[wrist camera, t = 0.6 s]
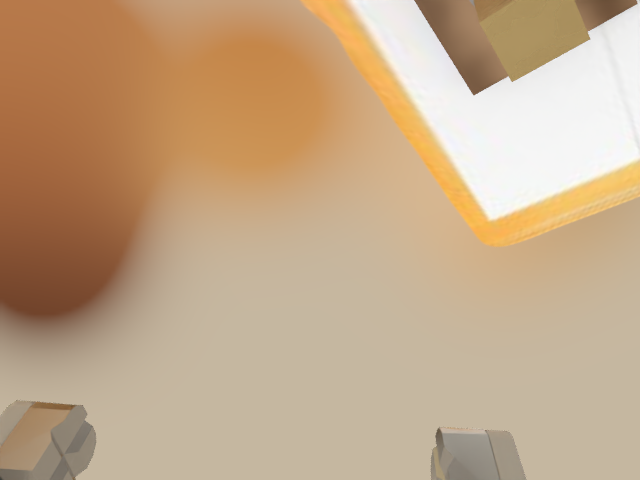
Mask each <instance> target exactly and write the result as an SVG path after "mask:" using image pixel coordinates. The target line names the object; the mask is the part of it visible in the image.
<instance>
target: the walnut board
mask: <svg viewBox="0 0 640 480" xmlns="http://www.w3.org/2000/svg"><path fill="white" fill-rule="evenodd" d="M414 1H415V2H416V4H417V5H418V7H419V9H420V10H421V12H422V13H423V15H424V17H425V18H426V20H427V21H428V23H429V25H430V26H431V28H432V29H433V31H434V33H435V34H436V36H437V37H438V39H439V41H440V42H441V44H442V45H443V47H444V49H445V50H446V52H447V53H448V55H449V57H450V58H451V60H452V61H453V63H454V65H455V66H456V68H457V69H458V71H459V73H460V74H461V76H462V78H463V79H464V81H465V82H466V84H467V86H468V87H469V89H470V90H471V92H472V94H473V95H475V94H477V93H479V92H481V91H482V90H484V89H486V88H488V87H490V86H491V85H493V84H495V83H497V82H499V81H500V80H502V79H504V78H506V77H507V76H508V74H507V72H506V70H505V68H504V67H503V65H502V63H501V61H500V59H499V58H498V56H497V54H496V52H495V50H494V49H493V47H492V45H491V43H490V41H489V40H488V38H487V36H486V34H485V32H484V30H483V29H482V27H481V25H480V23H479V20H478V16H477V12H476V9H475V5H474V1H473V0H414ZM575 3H576V5H577V8H578V10H579V13H580V15H581V18H582V20H583V22H584V25H585V27H586V30H587V32H588V31H590V30H591V29H593V28H595V27H597V26H599V25H600V24H602V23H604V22H606V21H607V20H609V19H611V18H613V17H615V16H616V15H618V14H620V13H622V12H624V11H625V10H627V9H629V8H631V7H632V6H634V5H636V4H637V1H636V0H575Z"/></svg>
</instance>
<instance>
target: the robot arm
mask: <svg viewBox="0 0 640 480" xmlns="http://www.w3.org/2000/svg"><path fill="white" fill-rule="evenodd" d="M86 416H87V412H86V410H85V408H84V407H83V405H72V404H59V403H46V402H36V401H20V400H16V401H15V402H14V403H12V404H10V405H9V406H8V407H7V408H6V409H5V411H4V412H3V413H2V414H1V416H0V480H75V477H76V476H77V475H78V474H79V473H81V472H82V471H84V470H85V469H86V468H87V467H88V465H89V463H90V461H91V458H92V456H93V453H94V449H95V445H96V433H95V430H94V428H93V426H92V425H90V424H89V423H88V422H86V421H85V418H86ZM436 444H437V446H436V447H435V448H434V449H433V451H432V457H431V480H526V477H525V474H524V471H523V468H522V465H521V461H520V458H519V455H518V452H517V449H516V445H515V442H514V439H513V436H512V435H511V434H510V432H508V431H494V430H483V429H468V428H466V429H465V428H446V427H439V428H438V430H437V433H436Z"/></svg>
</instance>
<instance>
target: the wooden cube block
mask: <svg viewBox="0 0 640 480" xmlns="http://www.w3.org/2000/svg"><path fill="white" fill-rule="evenodd" d="M473 1H474V5H475V9H476V12H477V16H478V20H479V23H480V25H481V27H482V29H483V30H484V32H485V34H486V36H487V38H488V40H489V41H490V43H491V45H492V47H493V49H494V50H495V52H496V54H497V56H498V58H499V59H500V61H501V63H502V65H503V67H504V68H505V70H506V72H507V74H508V76H509V77H510V79H511V81H512V82H513V81H515V80H517V79H519V78H520V77H522V76H524V75H526V74H528V73H529V72H531V71H533V70H535V69H537V68H539V67H540V66H542V65H544V64H546V63H548V62H549V61H551V60H553V59H555V58H557V57H559V56H560V55H562V54H564V53H566V52H568V51H569V50H571V49H573V48H575V47H577V46H579V45H580V44H582V43H584V42H586V41H588V40H589V39H590V37H589V35H588V32H587V30H586V27H585V25H584V22H583V20H582V18H581V15H580V13H579V10H578V8H577V5H576V3H575V0H473Z"/></svg>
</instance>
